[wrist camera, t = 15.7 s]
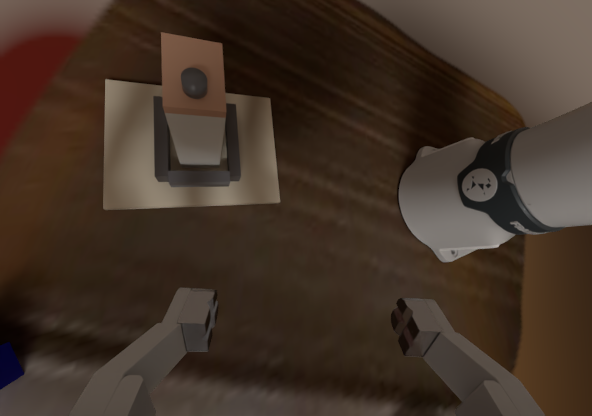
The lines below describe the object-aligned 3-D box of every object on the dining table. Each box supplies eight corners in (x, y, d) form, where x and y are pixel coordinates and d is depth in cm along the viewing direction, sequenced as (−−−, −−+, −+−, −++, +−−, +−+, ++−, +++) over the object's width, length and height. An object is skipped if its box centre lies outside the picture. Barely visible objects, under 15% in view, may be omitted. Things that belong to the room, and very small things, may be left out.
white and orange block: (216, 124, 29) (222, 31, 17) (219, 168, 28) (227, 103, 16) (179, 121, 28) (158, 19, 16) (181, 167, 27) (159, 96, 15)
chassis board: (268, 101, 33) (273, 88, 30) (278, 203, 31) (284, 198, 28) (108, 84, 27) (97, 65, 24) (106, 210, 25) (94, 204, 22)
